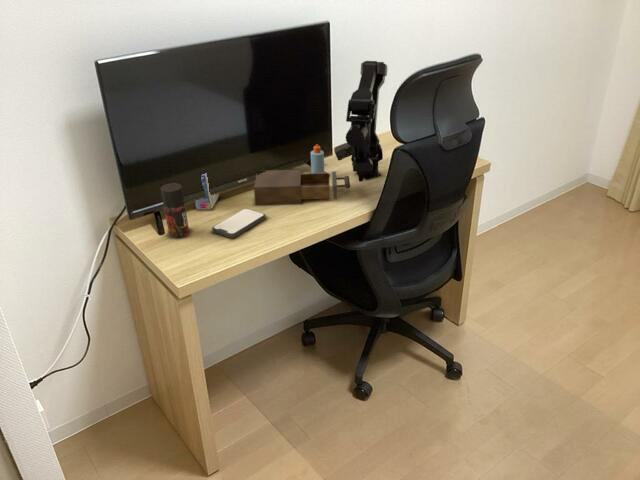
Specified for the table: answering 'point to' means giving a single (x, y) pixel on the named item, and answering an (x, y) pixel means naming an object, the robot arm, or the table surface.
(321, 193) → the drawer
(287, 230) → the table surface
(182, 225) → the deodorant
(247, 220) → the phone case
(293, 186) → the cabinet
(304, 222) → the table surface
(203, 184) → the ink cartridge box
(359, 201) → the table surface
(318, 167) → the glue bottle
